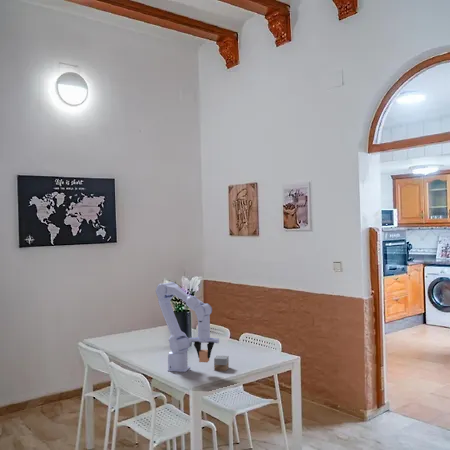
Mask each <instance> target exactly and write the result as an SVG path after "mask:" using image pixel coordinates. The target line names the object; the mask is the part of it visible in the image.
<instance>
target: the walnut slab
mask: <svg viewBox="0 0 450 450" xmlns="http://www.w3.org/2000/svg"><path fill="white" fill-rule="evenodd" d="M229 362H230V361H229ZM229 362H228V363H227V365H214V367H213V369H214V371H219V372H220V371H221V372H222V371H223V372H224V371H225V372H227V370H228V369H229V367H230V365H229Z"/></svg>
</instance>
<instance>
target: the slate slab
mask: <svg viewBox="0 0 450 450" xmlns="http://www.w3.org/2000/svg"><path fill="white" fill-rule="evenodd" d="M213 362H214V363H213V364H214V365H227V363H228V362H230V360H229V355H216V356H215V357H214V360H213Z"/></svg>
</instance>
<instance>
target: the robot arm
mask: <svg viewBox="0 0 450 450" xmlns="http://www.w3.org/2000/svg"><path fill="white" fill-rule="evenodd" d="M155 294H156V296H157V301H158V305H159V307H160V310H161V313H162V316H163V318H164V321H165V323H166V325H167V329H168V332H169V334H170V336H169V338H168V343H169V349H170V351H169V352H168V356H167V371H168V372H181V373H182V372H183V373H186V372H187V371H188V370H189V369H190V368H191V366H188V365H189V364H188V359H189V358H188V351H189V348H190V347H191V343H193V346H194V348H195V350H196V352H197V357H198V359H199V351H200V350H202V343H203V344H204V343H206V348H207V350H208V358H209V359H210V358H211V353H212V350H213V347H214V345H215V344H219V343H220V338H215V337H211V321H210V319H211V316H210V315H211V314H212V312H213V307H212V306H211V305H210V304H209V303H204V302H203V301H201V300H200V299H198V298H197V295H189V294H188V293H186V292H185V291H184V290H183V289H182V288H180V286H179V284H177V283H176V282H174V281H170V282H165V283H158V285H157V286H156V288H155ZM174 296H176V297H177V298H178V299H180V300H182V301H184V302H185V305H186V306H187V307H188V309H191V311H193V312H194V313H195V316H196V319H197V337H188V336H187V334H186V333H185V332H184V331H182V330H181V327H180V324H179V323H178V319H177V317H176V314H175V312H174V309H173V307H172V305H171V301H172V299H173V297H174Z"/></svg>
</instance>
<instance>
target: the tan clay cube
mask: <svg viewBox="0 0 450 450" xmlns="http://www.w3.org/2000/svg"><path fill="white" fill-rule="evenodd" d="M209 362H210V358H208V349H201V350H200V351H199V358H198V363H209Z"/></svg>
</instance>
